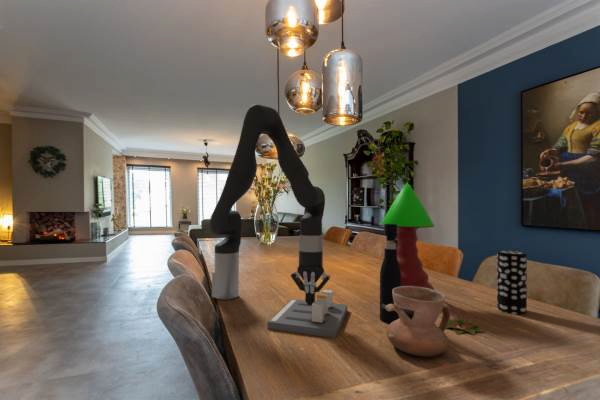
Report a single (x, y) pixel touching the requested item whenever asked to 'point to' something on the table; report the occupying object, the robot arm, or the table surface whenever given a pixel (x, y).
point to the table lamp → (409, 236)
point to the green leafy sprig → (467, 325)
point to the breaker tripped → (323, 299)
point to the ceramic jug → (418, 321)
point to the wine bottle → (389, 275)
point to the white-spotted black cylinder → (512, 282)
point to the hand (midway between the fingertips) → (310, 304)
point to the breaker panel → (308, 319)
